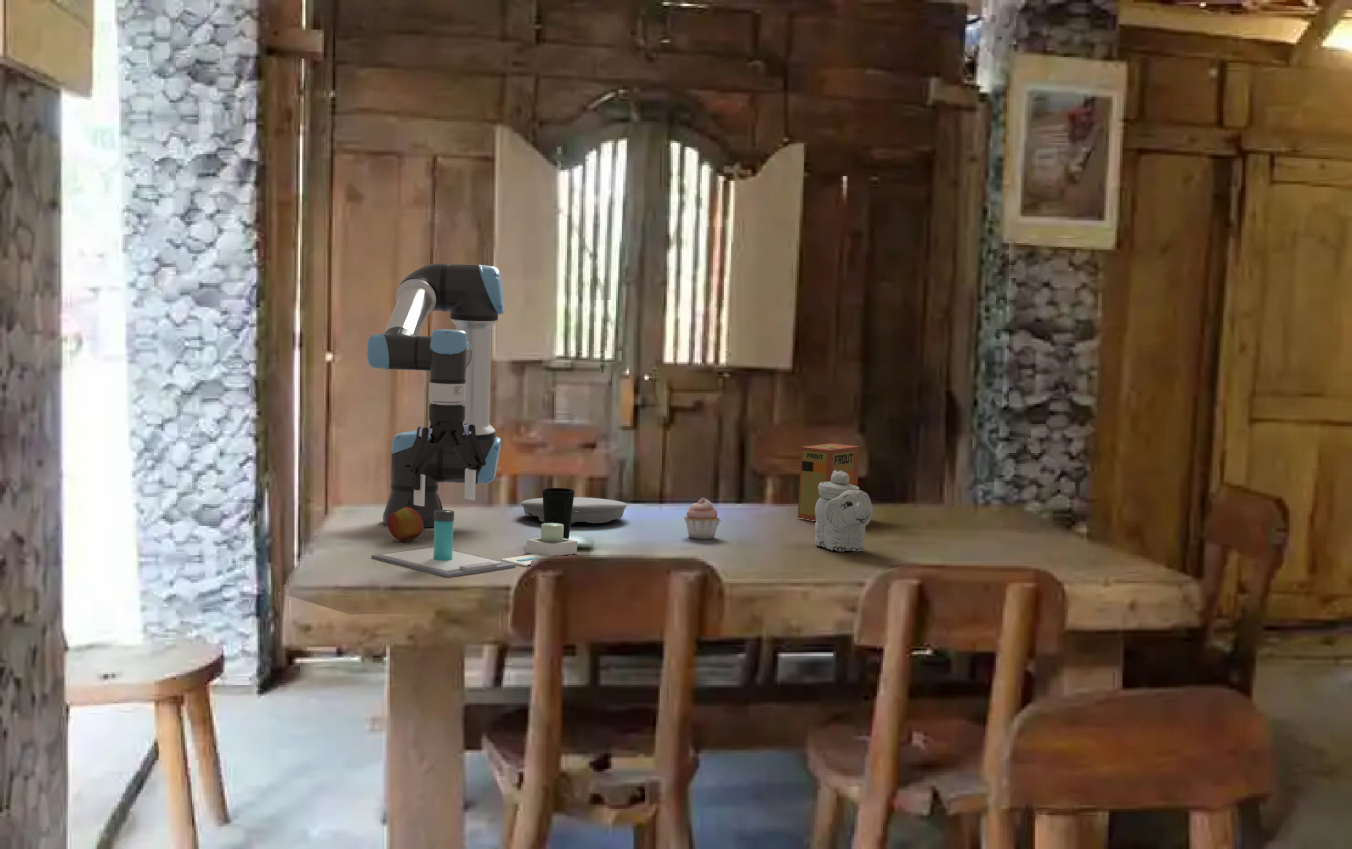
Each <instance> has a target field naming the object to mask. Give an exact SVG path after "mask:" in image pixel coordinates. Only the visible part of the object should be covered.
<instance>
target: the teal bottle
mask: <svg viewBox="0 0 1352 849" xmlns="http://www.w3.org/2000/svg"><path fill="white" fill-rule="evenodd" d="M454 520H455V511H454V510H452V509H443V510H435V511H434V527H433V528H434V530H433V547H434V553H433V559H434V560H441V561H446V560H452V556H453V550H454Z"/></svg>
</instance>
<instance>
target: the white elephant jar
mask: <svg viewBox="0 0 1352 849" xmlns="http://www.w3.org/2000/svg"><path fill="white" fill-rule="evenodd" d="M848 483H849V475H848V474H847V473H845V472H843V471H839V472H837V471H836V470H834V471H833V473H832V476H831V482H821V483H819V486H818V489H819V495H820V496H821V497H820V498H819V499H818V501H817V503H816V507H815V515H816V522H814V527H815V528H814V532H815V537H814V538H815V539H814V545H816V546H818V547H821V546H822V548H826V549H827V550H829V549H830V550H829V551H833V550H836V551H835V552H844V551H861V550H864V541H865V538H866V527H867V526H868V525H869V524H870V521H871V520H872V518H873V513H874V507H873V504H872V501H871V497H870V496H869V494H868V493H867V492H865V491H863V490H860V487H859V486H854V485H851V484H848Z"/></svg>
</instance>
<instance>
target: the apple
mask: <svg viewBox="0 0 1352 849" xmlns="http://www.w3.org/2000/svg"><path fill="white" fill-rule="evenodd" d="M387 528H388V531H389V533H390V534H391V535H392V537H393V538H394V539H396V540H397V541H399V542H400V541H401V542H409V541H412V540H414V539H417V538H418V537H420V536H421V535H422V533H423V531H424V527H423V520H422V517H421V516H420V514H419V513H418V512H417V511H416V510H414V509H412V508H410V507H404V508H402V509H400V510H398V511H397V512H394V513H392V514H391V515H390V516H389V518H388V525H387Z"/></svg>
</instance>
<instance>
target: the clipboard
mask: <svg viewBox="0 0 1352 849" xmlns="http://www.w3.org/2000/svg"><path fill="white" fill-rule="evenodd" d="M433 553H434V546H430V547H423V548H414V549H407V550H399V551H392V552H383V553H377V554H371V555H370V556H371V557H370V558H371V559H375V560H378V561H383V562H386V563H391V564H395V565H398V566H402V567H405V568H411V569H414V570H417V571H422V572H426V573H430V574H434V575H438V576H441V577H446V578H453V577H458V576H459V577H461V576H466V575H474V574H478V573H479V574H480V573H486V572H492V571H498V570H499V571H500V570H506V569H512V568H516V566H517V565H516V564H512V563H508V562H504V561H501V560H499V559H495V558H490V557H485V556H481V555H479V554H473V553H469V552H465V551H464V552H463V551H460V550H456V549H453V556H452V560H446V561H441V560H434V559H433Z"/></svg>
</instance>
